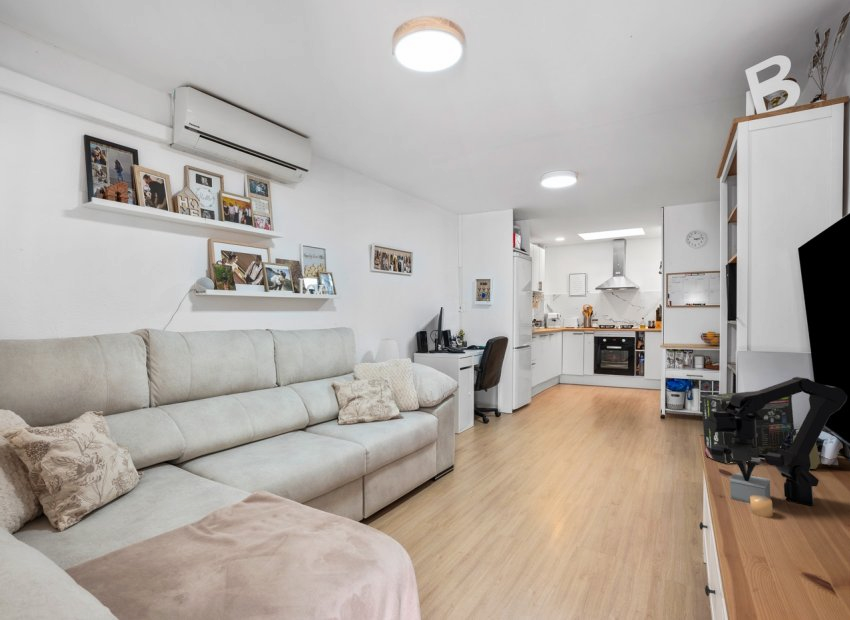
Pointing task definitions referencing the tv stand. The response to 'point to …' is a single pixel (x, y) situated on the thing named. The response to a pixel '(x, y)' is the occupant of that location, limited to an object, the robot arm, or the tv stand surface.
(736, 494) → the box
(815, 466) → the squeeze bottle
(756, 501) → the tan cylinder grey end
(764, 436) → the router box
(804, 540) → the tv stand surface
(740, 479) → the box lid
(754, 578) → the tv stand surface
